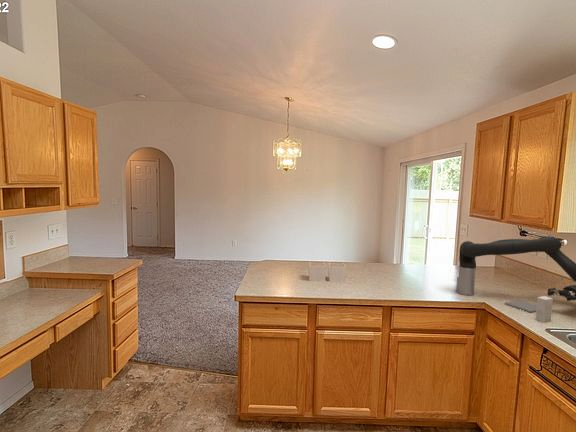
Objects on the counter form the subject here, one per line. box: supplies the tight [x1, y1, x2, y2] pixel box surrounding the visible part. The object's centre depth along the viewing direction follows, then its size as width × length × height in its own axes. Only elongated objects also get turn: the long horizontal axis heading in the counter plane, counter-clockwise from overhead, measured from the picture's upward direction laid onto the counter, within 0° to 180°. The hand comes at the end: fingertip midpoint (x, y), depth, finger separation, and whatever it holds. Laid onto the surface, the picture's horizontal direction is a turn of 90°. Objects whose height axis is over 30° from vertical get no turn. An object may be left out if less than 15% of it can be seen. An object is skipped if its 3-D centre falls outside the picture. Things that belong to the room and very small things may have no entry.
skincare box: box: [534, 295, 554, 323], centre depth 167 cm, size 6×4×12 cm
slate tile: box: [504, 299, 537, 314], centre depth 186 cm, size 14×14×1 cm
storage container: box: [308, 261, 347, 283], centre depth 231 cm, size 25×11×11 cm, turn 88°
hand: (557, 296), depth 171 cm, fingers open, 8 cm apart
